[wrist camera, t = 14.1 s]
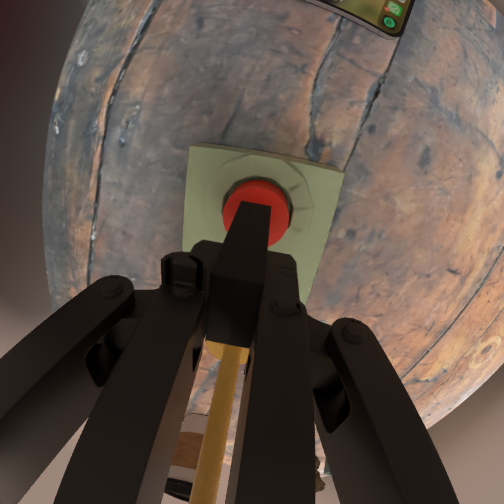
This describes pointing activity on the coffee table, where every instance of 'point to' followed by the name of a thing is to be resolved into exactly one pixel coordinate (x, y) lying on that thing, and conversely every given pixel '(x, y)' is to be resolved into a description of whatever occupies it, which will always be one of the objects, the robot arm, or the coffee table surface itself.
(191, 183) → the lamp base
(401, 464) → the robot arm
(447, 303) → the coffee table surface
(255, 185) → the switch
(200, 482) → the lamp
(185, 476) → the coffee cup
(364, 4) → the smartphone
